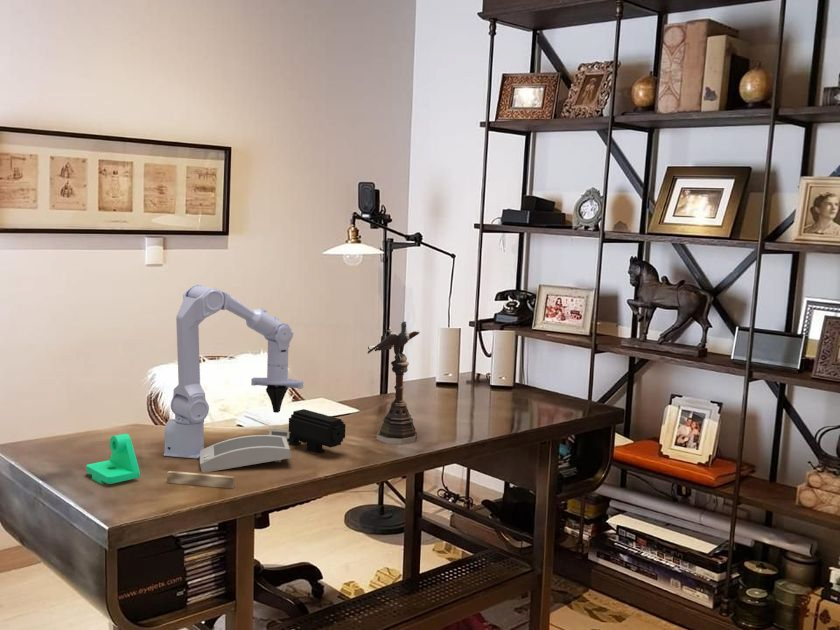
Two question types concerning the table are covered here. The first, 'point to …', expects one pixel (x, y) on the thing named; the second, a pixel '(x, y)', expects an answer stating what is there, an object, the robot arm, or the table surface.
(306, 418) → the security camera
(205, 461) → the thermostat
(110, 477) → the camera mount
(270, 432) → the label tag
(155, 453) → the table surface
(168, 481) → the rail
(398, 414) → the bird statue
